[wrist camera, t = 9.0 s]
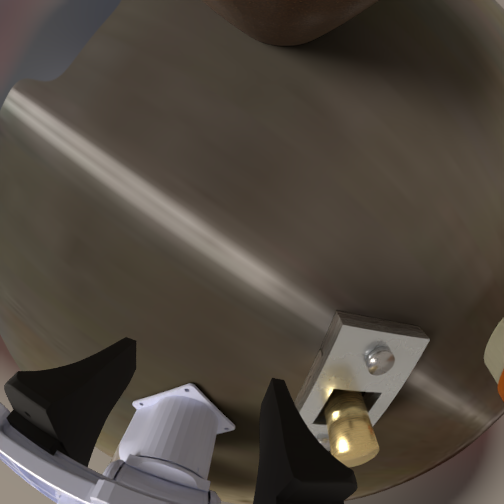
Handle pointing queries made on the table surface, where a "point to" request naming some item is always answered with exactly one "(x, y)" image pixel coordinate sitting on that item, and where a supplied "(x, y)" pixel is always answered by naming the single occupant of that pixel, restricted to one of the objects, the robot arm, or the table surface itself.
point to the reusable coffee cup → (496, 356)
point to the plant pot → (287, 17)
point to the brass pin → (349, 428)
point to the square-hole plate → (359, 366)
